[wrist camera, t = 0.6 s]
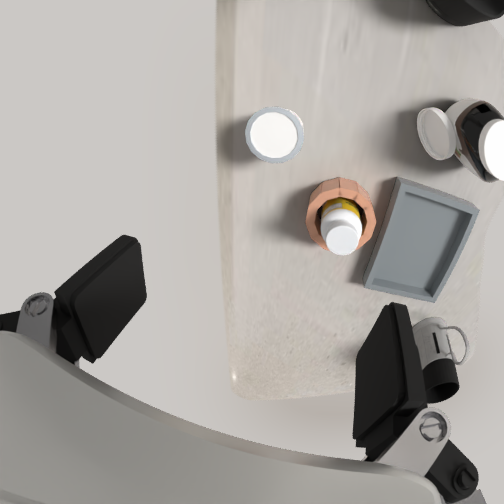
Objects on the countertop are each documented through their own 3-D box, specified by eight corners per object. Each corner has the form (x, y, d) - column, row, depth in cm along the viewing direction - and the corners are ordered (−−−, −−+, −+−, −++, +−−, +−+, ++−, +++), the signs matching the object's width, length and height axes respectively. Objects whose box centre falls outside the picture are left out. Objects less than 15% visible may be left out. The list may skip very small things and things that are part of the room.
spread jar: (494, 148, 27) (537, 172, 17) (445, 186, 33) (478, 221, 23) (455, 78, 24) (497, 78, 15) (401, 119, 30) (430, 130, 21)
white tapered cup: (279, 160, 38) (269, 174, 33) (248, 123, 36) (232, 130, 31) (318, 134, 35) (316, 142, 29) (286, 94, 33) (278, 94, 27)
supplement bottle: (363, 217, 39) (370, 252, 31) (331, 230, 42) (330, 266, 34) (349, 185, 37) (353, 213, 29) (315, 200, 40) (311, 231, 32)
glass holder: (402, 343, 50) (408, 404, 38) (433, 292, 42) (452, 358, 30) (434, 347, 49) (444, 405, 37) (467, 299, 41) (489, 360, 29)
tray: (396, 176, 35) (401, 182, 32) (472, 202, 32) (479, 210, 30) (363, 277, 45) (364, 287, 42) (431, 292, 42) (434, 302, 40)
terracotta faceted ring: (315, 171, 38) (313, 181, 34) (378, 187, 36) (383, 198, 33) (303, 229, 43) (300, 244, 39) (361, 242, 41) (363, 258, 38)
